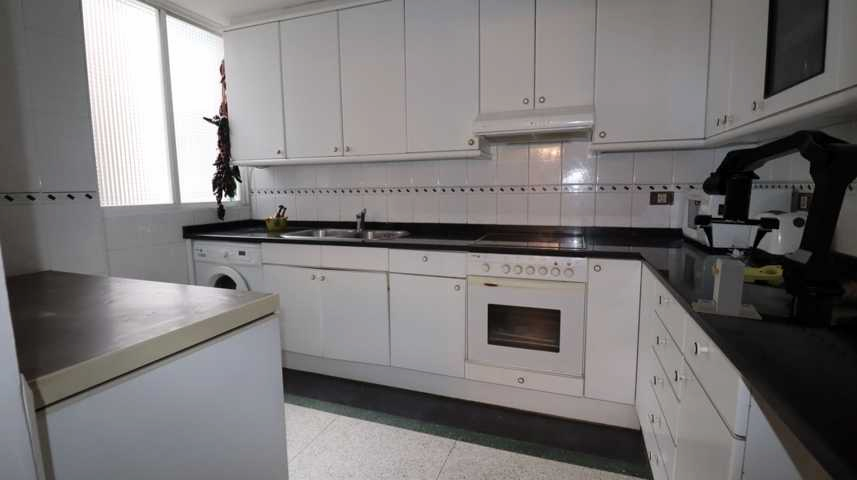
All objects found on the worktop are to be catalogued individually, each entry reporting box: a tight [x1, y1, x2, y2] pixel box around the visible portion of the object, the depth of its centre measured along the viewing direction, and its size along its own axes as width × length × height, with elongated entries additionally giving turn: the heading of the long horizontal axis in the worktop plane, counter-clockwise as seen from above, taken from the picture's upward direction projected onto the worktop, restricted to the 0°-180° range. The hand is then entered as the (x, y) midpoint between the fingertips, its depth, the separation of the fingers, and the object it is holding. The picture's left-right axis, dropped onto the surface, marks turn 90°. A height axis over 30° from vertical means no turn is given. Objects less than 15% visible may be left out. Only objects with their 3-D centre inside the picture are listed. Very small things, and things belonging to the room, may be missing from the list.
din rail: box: [691, 298, 763, 320], centre depth 99 cm, size 13×7×2 cm, turn 62°
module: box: [712, 258, 746, 315], centre depth 98 cm, size 5×7×12 cm
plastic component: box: [711, 257, 783, 286], centre depth 129 cm, size 20×7×10 cm
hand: (731, 251), depth 114 cm, fingers open, 9 cm apart
